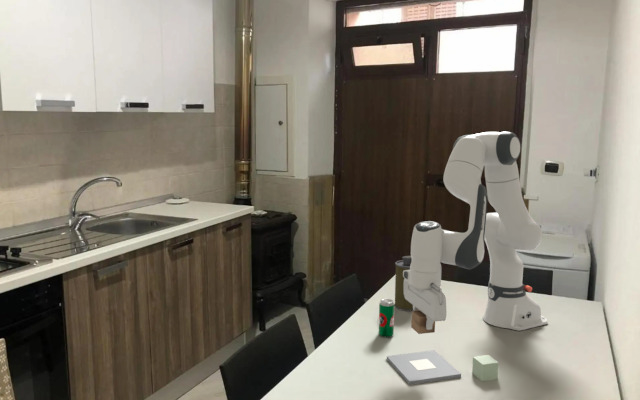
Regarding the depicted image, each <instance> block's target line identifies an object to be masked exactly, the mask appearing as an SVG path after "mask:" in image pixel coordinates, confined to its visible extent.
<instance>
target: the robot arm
mask: <svg viewBox="0 0 640 400" xmlns="http://www.w3.org/2000/svg"><path fill="white" fill-rule="evenodd" d="M521 149H522V146H521V140H520V138H519V136H517V135H516V134H515V132H510V131H506V130H505V131H501V132H499V131H485V132H480V133H475V134H473V133H472V134H465V135H462V136H459V137H457V139H456V140H455V142H454V143H453V146H452V151H451V153H450V155H449V158H448V159H447V160H448V161H447V163H446V166H445V169H444V172H443V176H442V177H443V179H442V180H443V184H444V186H445V188H446V190H447V191H448V192H449V193H450V194H451V195H453V196H454V197H456V198H457V199H459V200H461V201H463V202H465V203H466V204H469V206H470V210H469V217H468V218H469V219H468V220H469V221H468V226H467V227H468V229H467V231H465V232H458V231H452V230H451V231H450V230H448V229H443V228H442V226H441V224H440V223H439V222H436V221H431V220H428V221H420V222H418V223H416V224H415V225H414V226H413V230H412V234H411V235H412V236H411V241H410V256H411V257H412V262H411V265H410V270H404V271H403V277H404V297H405V299H406V300H407V301H409V302H410V303H411V304H412V305H413V310H414V311H418V310H420V311H421V312H423V313H424V314H425V315H426V318H427V321H426V322H425V326H424V327H425V328H426V329H427V330H431V329H432V326H433V322H434V321H435V322H442V321H443V322H444V321H445V320H446V319H447V299H446V298H447V297H446V294H445V293H444V292H443V291H442V288H441V287H442V286H441V285H442V264H441V263H443V264H447V265H451V266H457V267H459V268H463V269H466V270H472V269H475V268H476V267H478V266H479V265H480V264H482V262H483V261H484V257H485V245H486V247H487V251H488V256H489V261H490V262H489V263H490V264H489V266H490V267H489V273H490V274H489V280H488V283H487V284H488V285H487V301H486V302H487V303H486V307H485V311H484V314H483V317H482V320H483V321H484V322H485V323H487V324H489V325H491V326H493V327H494V326H495V327H497V328H503V329H504V328H505V329H511V330H514V331H518V332H519V331H525V330H528V329H533V328H538V327H539V326H543V325H547V324H549V321H548V319H547V318H546V317H545V316H543V315H542V311H541V307H540V305H539V303H538V302H537V301H535V300H534V299H533V298H531V297H530V296H529V295H528V294H527V293H526V291H527V292H528V293H531V292H532V291H533V287H532V286H530V285H528V284H527V285H526V284H524V283H523V277H524V275H523V274H524V263H523V261H522V259H521V258H520V257H519V255H518V254H517V250H518V251H533V250H536V249H537V248H538V247H539V245H541V243H542V240H543V231H542V230H543V229H542V228H541V225H539V224H538V223H537V222H536V221H535V220H534V219H533V217H532V216H531V214H530V212H529V211H528V207H526V203H525V201H524V199H523V193H522V189H521V181H520V173H519V168H518V164H517V160H518V158H519V157H520V155H521ZM483 172H484V178H485V185H483V184H482V180H481V179H482V174H483ZM488 203H489V204H490V205H491V207H493V209H494V211H495V212H488Z"/></svg>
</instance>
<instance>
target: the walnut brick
mask: <svg viewBox="0 0 640 400" xmlns="http://www.w3.org/2000/svg"><path fill="white" fill-rule="evenodd" d="M426 321H427V318H426V315H425V314H424V313H423V312H421V311H420V310H418V311H411V325H410V327H411V329H412V330H414V331H415V332H416V333H417V335H421V334H422V335H423V334H433V333H435V331H436V321H434V322H433V326H432V329H431V330H427V329H426V328H425V327H424V326H425V322H426Z"/></svg>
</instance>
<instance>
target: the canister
mask: <svg viewBox="0 0 640 400" xmlns="http://www.w3.org/2000/svg"><path fill="white" fill-rule="evenodd" d="M401 259H402V260H397V261H396V262H394V263H395V280H394V281H395V282H394V284H395V285H394V309H397V310H400V311H403V312H404V311H405V312H412V311H414V310H413V305H412V304H411V303H410V302H409V301H407V300H406V299H405V297H404V277H403V271H404V270H410V265H411V262H412V257H411V255H405V256H402V257H401Z"/></svg>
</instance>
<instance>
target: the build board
mask: <svg viewBox="0 0 640 400" xmlns="http://www.w3.org/2000/svg"><path fill="white" fill-rule="evenodd" d="M386 360H387V362H388V363H389V364H390V365H391V366H392V367H393V368H394V370H396V372H397V373H398V374H399V375H400V376H401V377H402V379H403V380H405V381H406V383H407V384H408V386H409V385H411V386H412V385H418V384H424V383H431V382H432V383H433V382H436V381H438V382H439V381H444V380H451V379H457V378H462V373H461V372H460V371H459V370H458V369H457V368H455V367H454V366H453V365H452V364H451V363H449V362H448V361H447V360H446V359H445V358H444V357H443V356H442V355H440V354H439V353H438V352H437V351H436V350H435V349H432V350H425V351H416V352H408V353H402V354H394V355H387V356H386Z"/></svg>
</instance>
